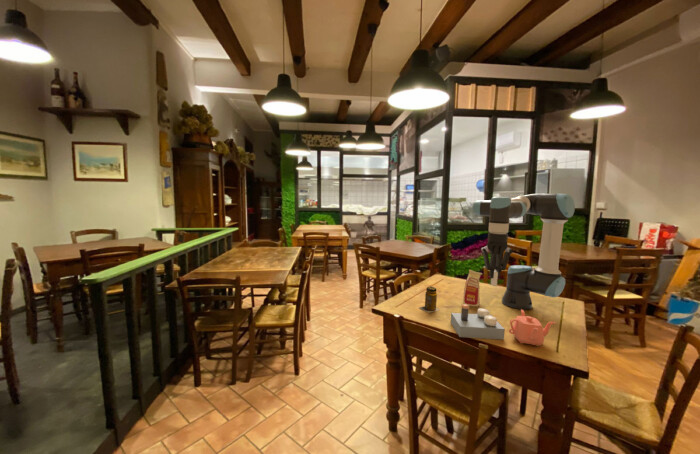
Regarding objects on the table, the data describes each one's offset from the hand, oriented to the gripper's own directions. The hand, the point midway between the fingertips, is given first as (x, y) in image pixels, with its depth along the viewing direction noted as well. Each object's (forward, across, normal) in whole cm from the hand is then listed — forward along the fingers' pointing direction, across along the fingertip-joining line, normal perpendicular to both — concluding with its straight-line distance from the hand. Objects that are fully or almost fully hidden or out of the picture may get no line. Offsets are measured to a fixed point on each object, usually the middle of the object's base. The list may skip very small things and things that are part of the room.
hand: (493, 285), depth 120 cm
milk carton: (+24, -5, -38) cm, 45 cm away
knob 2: (+23, 0, 0) cm, 23 cm away
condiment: (+24, +22, -26) cm, 41 cm away
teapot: (+24, -16, +3) cm, 29 cm away
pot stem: (+19, +10, -4) cm, 22 cm away
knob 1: (+23, 0, -8) cm, 24 cm away
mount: (+24, +5, -4) cm, 24 cm away
